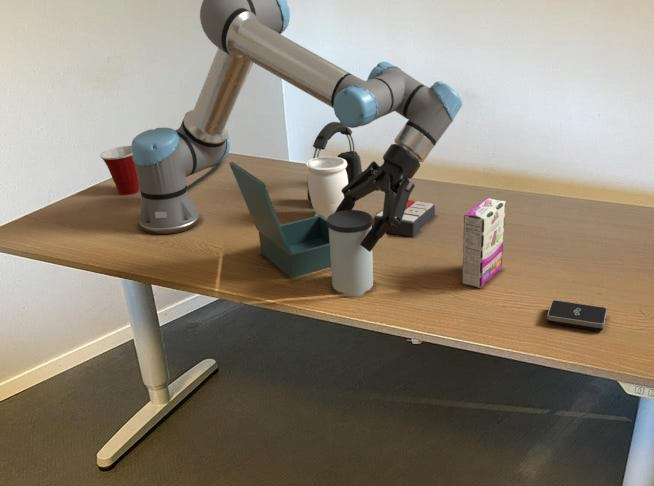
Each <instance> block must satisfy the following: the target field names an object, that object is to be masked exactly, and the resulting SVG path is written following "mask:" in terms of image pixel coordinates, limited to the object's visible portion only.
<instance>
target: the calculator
mask: <svg viewBox="0 0 654 486" xmlns="http://www.w3.org/2000/svg"><path fill="white" fill-rule="evenodd" d="M382 215H383V210H382V211H380V212H378V213H377V214H376V215H374V217H373V225H374V224H375V222H376V221H377V220H378V218H379V219H381V218H382V217H381V216H382ZM435 215H436V205H434V204H433V202H432V203H430V202H425V201H418V200H417V201H415V200H411V199H408V202H407V205H406V208H405V212H404V215H403V218H402V221H401V224H400V226H398V227H397V226H395V225H393V226H390V227H389V228H388V230H387V231H386V232H385V233H389V234H395V235H402V236H406V237H414V236H416V235H417V234H418V233H420V230H421V228H423V227H424V226H425V225H426V224H428V222H430V221H431V220H432V219H434V217H435ZM380 217H381V218H380ZM395 218H397V217H395ZM381 220H382V219H381ZM382 221H383V220H382Z"/></svg>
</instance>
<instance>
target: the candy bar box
mask: <svg viewBox="0 0 654 486" xmlns="http://www.w3.org/2000/svg"><path fill="white" fill-rule="evenodd" d="M506 202H507V201H506V200H502V199H496V198H492V197H485V198H484V199H482V201H480V202H478V204H476V205H475V206H474V207H472V208H471V209H470V210H468V211H467V212H466V213H464V215H463V238H462V239H463V242H462V245H463V246H462V247H463V248H462V275H461V277H462V278H461V279H462V281H461V283H462V284H463V285H466V286H469V287H473V288H474V287H475V288H478V289H482V288H483V287H484V286H485V285H487V284H488V282H489V281H490V280H491V279H492V278H493V277H495V275H496V274H498V273H499V272H500V271H501V270H503V269H502V268H503V250H504V235H505V220H506V219H505V218H506V205H507V204H506Z"/></svg>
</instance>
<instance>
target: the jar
mask: <svg viewBox="0 0 654 486" xmlns="http://www.w3.org/2000/svg"><path fill="white" fill-rule="evenodd" d="M346 167H347V161H346V160H345V159H343V158H339V157H337V156H320V157H318V158H317V157H315V158H314V159H313V158H311V159H310V160H308V161H307V162H306V168H307V170H308V173H309V174H308V173H307V190H308V189H309V194H310V198H311V203H310V204H311V206H312V208H313V210H314V211H313V212H315V214H314V217H315V216H319V215H321V216H323V217H324V218H326V219H327V218H328V217H329V216H330V215H331V214H333V213H335V211H336V209H337V207H338V206H339V204H340V203H341V202H342V200H343V199H344V194H343V193H342V192H341V190H342V189H343V188H344V187H345V186H346V185H347V184H348V177H347V172H346V169H345V168H346Z"/></svg>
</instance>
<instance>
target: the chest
mask: <svg viewBox="0 0 654 486" xmlns="http://www.w3.org/2000/svg"><path fill="white" fill-rule="evenodd" d="M280 225H281V227H282V230H283V233H284V235H285V238H286V240H287V243H288V245H289V248H290V251H291V253H290V254H287V253H286V252H285V251H283V250H282V249H281V248H280V247H278V246H277V245H276V244H274V243H273V242H272V241H271V240H269V239H268V238H267V237H266V236H264V235H263V234H262V233H261V232H259V231H258V237H259V245H260V252H261V254H262V255H263V256H265V257H266V258H267V259H269V260H270V261H271V262H272V263H273V264H274V265H276V266H277V267H278V268H279V269H281V271H282V272H284V273H285V274H286V275H288V276H289V278H291V279H295V278H298V277H302V276H306V275H308V274H312V273H316V272H320V271H323V270H325V269H329V268H331V257H330V242H329V227H328V225H327V219H326V218H324V217H323V216H321V215H319V216H315V215H314V216H311V217H307V218H304V219H299V220H296V221H292V222H291V221H290V222H288V223H283V224H280Z"/></svg>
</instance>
